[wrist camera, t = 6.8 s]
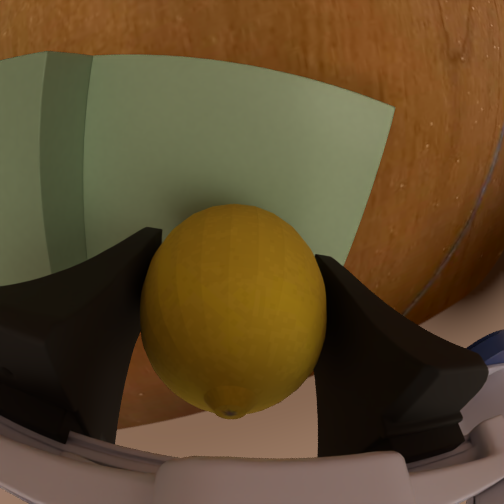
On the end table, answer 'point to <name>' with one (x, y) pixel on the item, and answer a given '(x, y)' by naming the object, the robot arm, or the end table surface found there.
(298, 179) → the step shelf
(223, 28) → the end table surface
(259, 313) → the lemon
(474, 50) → the end table surface
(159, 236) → the robot arm
